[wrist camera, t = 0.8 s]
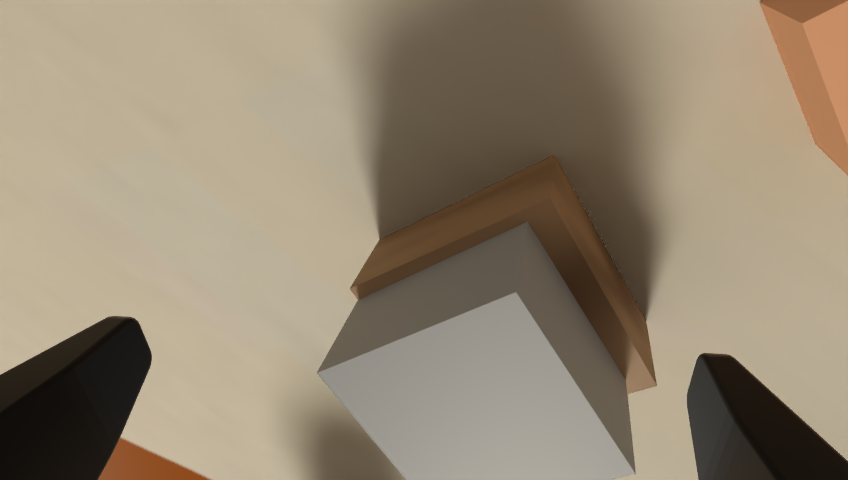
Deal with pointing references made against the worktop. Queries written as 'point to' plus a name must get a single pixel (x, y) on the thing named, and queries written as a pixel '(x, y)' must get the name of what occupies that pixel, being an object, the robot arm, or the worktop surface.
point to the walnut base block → (559, 235)
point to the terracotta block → (816, 66)
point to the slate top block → (484, 372)
